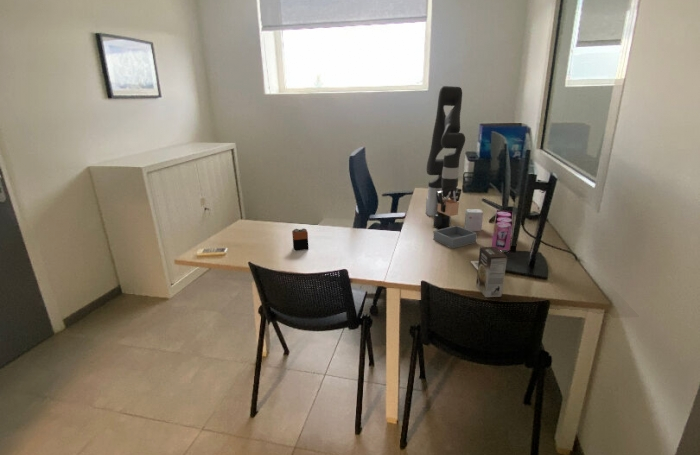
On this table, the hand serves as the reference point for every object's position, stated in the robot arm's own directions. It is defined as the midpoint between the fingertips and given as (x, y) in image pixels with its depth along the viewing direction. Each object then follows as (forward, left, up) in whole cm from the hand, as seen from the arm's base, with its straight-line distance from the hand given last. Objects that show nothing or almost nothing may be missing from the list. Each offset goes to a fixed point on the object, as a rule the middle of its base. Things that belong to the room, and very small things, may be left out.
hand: (447, 210), depth 183 cm
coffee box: (+46, -22, -16) cm, 53 cm away
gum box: (+17, +20, -16) cm, 31 cm away
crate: (+3, +3, -15) cm, 16 cm away
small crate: (0, 0, -1) cm, 1 cm away
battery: (-28, -66, -16) cm, 73 cm away
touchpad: (+33, -9, -16) cm, 38 cm away
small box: (-4, +23, -16) cm, 29 cm away
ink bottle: (-16, +12, -16) cm, 26 cm away
